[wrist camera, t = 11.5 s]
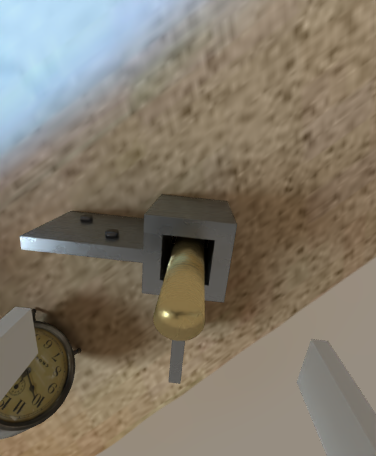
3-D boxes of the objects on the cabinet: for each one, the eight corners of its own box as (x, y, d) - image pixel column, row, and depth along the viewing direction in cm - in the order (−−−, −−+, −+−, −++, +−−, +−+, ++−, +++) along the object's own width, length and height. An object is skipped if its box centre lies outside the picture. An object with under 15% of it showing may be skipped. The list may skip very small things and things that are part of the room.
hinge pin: (178, 238, 27) (152, 337, 13) (180, 215, 26) (154, 296, 12) (202, 240, 27) (201, 343, 13) (205, 218, 26) (207, 302, 12)
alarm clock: (93, 350, 34) (3, 517, 19) (68, 365, 35) (-34, 533, 20) (36, 297, 32) (-121, 441, 16) (12, 316, 33) (-154, 464, 18)
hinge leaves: (79, 314, 32) (40, 366, 24) (68, 185, 26) (13, 200, 18) (208, 329, 31) (209, 387, 24) (227, 201, 26) (237, 224, 18)
